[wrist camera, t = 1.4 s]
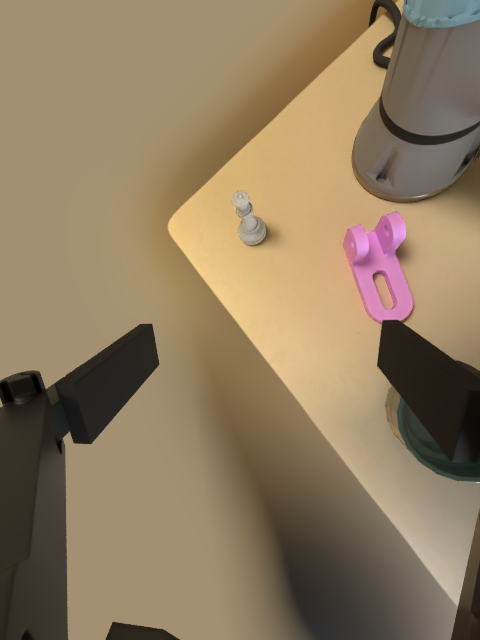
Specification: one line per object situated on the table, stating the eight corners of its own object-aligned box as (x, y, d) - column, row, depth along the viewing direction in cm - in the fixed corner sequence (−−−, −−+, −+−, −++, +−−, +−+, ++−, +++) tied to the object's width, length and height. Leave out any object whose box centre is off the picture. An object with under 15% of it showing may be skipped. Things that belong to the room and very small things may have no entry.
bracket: (342, 244, 39) (349, 223, 32) (382, 230, 37) (397, 205, 31) (372, 328, 36) (385, 324, 30) (415, 317, 35) (439, 310, 28)
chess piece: (270, 223, 42) (260, 181, 32) (261, 248, 42) (248, 213, 32) (245, 218, 43) (228, 175, 34) (236, 242, 43) (216, 206, 33)
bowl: (379, 365, 36) (391, 368, 30) (485, 361, 33) (518, 364, 27) (390, 457, 34) (404, 477, 29) (501, 462, 31) (540, 486, 26)
